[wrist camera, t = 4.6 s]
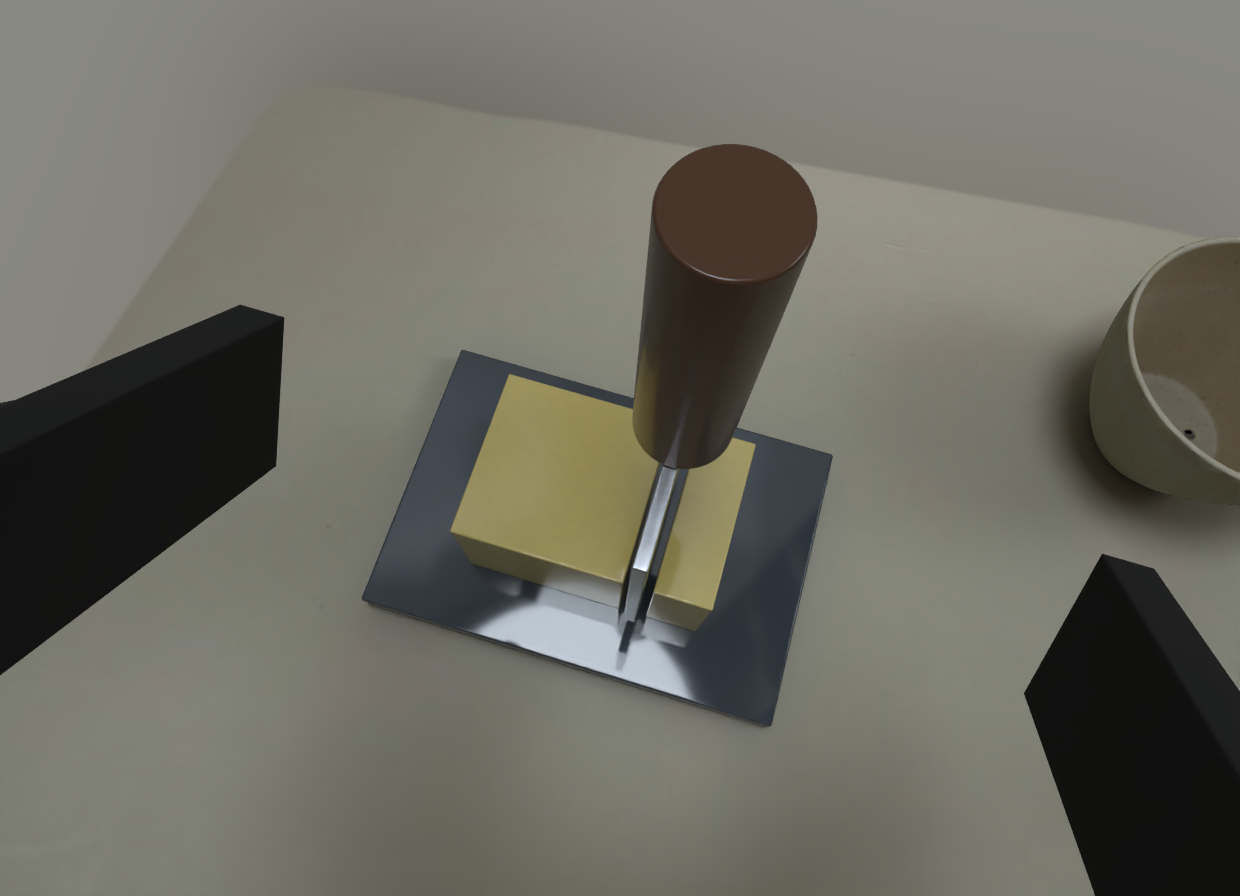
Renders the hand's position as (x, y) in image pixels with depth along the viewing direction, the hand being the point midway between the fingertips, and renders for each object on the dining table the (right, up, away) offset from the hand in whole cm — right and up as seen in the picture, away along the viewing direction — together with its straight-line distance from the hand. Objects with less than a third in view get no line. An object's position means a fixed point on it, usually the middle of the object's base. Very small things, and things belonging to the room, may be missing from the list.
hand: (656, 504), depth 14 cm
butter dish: (-1, -2, +21) cm, 21 cm away
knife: (+1, -1, +16) cm, 16 cm away
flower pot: (+22, +2, +23) cm, 32 cm away
